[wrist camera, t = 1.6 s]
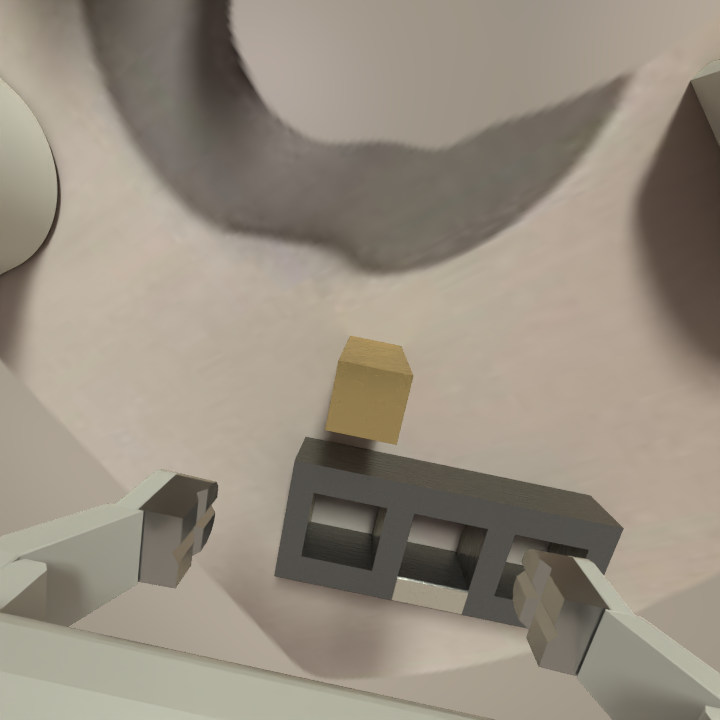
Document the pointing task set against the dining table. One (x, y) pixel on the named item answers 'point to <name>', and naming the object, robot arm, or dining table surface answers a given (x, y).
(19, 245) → the robot arm
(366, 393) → the brass peg
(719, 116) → the grey rounded block
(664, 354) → the dining table surface
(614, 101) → the dining table surface
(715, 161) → the dining table surface
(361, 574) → the grey peg holder
